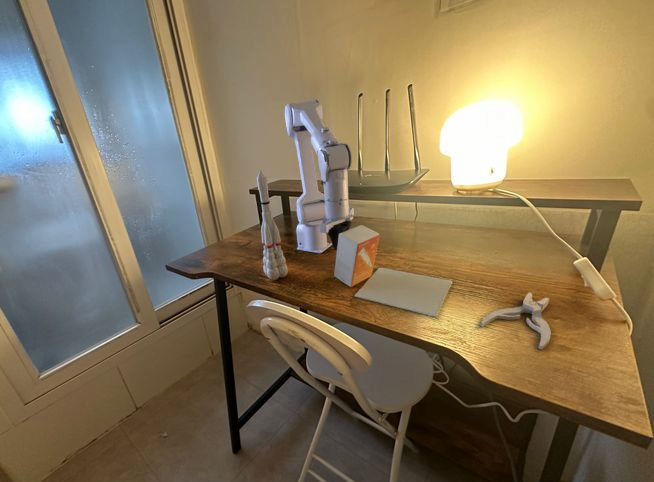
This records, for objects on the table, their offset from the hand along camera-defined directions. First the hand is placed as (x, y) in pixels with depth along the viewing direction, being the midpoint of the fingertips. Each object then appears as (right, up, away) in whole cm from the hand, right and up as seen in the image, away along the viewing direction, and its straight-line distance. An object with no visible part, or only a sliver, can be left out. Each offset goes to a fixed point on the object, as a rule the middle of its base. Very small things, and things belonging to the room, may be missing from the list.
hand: (338, 249), depth 79 cm
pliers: (+32, -15, -21) cm, 41 cm away
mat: (+14, -10, -7) cm, 19 cm away
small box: (+4, -7, +1) cm, 8 cm away
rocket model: (-16, -8, +8) cm, 20 cm away
